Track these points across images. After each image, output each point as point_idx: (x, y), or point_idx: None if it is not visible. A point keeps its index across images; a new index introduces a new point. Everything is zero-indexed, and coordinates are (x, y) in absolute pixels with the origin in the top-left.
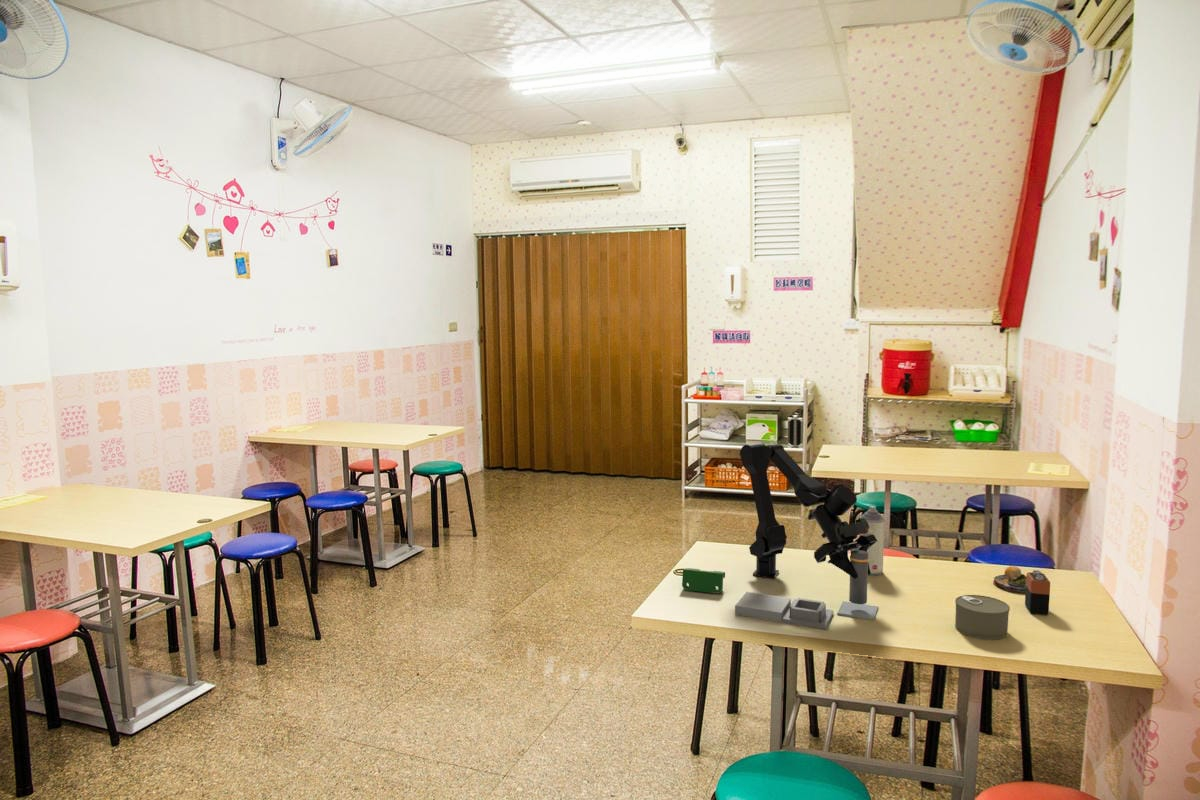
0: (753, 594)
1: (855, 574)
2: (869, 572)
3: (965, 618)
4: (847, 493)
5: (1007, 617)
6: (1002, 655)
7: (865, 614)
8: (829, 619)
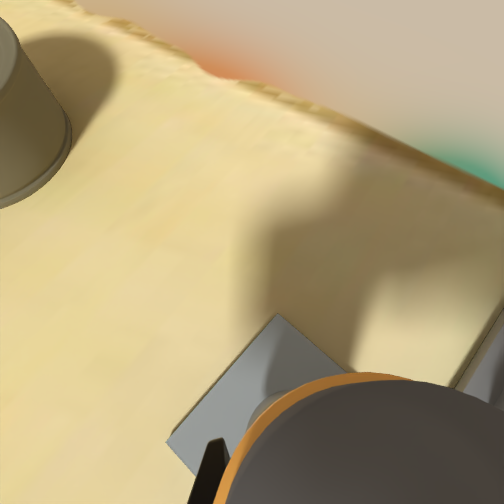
0: None
1: None
2: (221, 442)
3: (40, 91)
4: None
5: None
6: (100, 33)
7: (288, 363)
8: (481, 354)
